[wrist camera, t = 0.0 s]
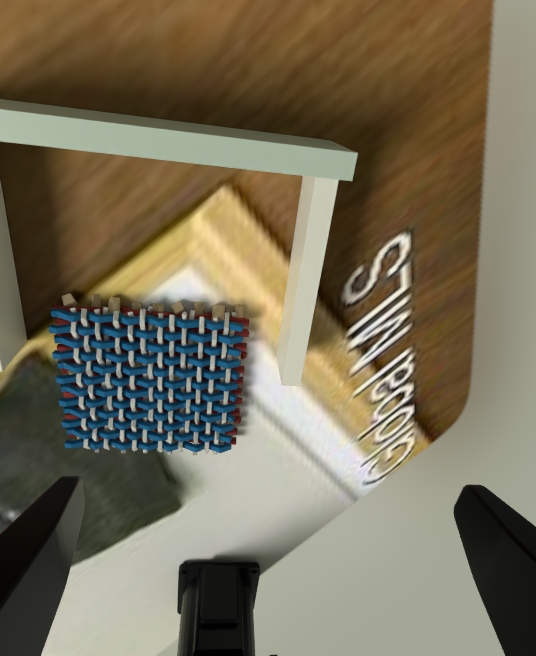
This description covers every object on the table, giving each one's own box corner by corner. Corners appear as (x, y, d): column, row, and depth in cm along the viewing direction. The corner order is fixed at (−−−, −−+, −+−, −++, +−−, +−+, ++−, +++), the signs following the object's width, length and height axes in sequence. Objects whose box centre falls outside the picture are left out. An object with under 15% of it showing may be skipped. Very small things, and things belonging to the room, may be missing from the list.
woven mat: (237, 438, 29) (237, 461, 27) (74, 433, 28) (63, 457, 26) (253, 300, 24) (255, 316, 23) (56, 286, 23) (41, 302, 21)
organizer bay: (292, 356, 26) (305, 410, 21) (8, 339, 24) (-42, 395, 19) (329, 140, 20) (357, 153, 16) (-39, 94, 18) (-126, 93, 14)
